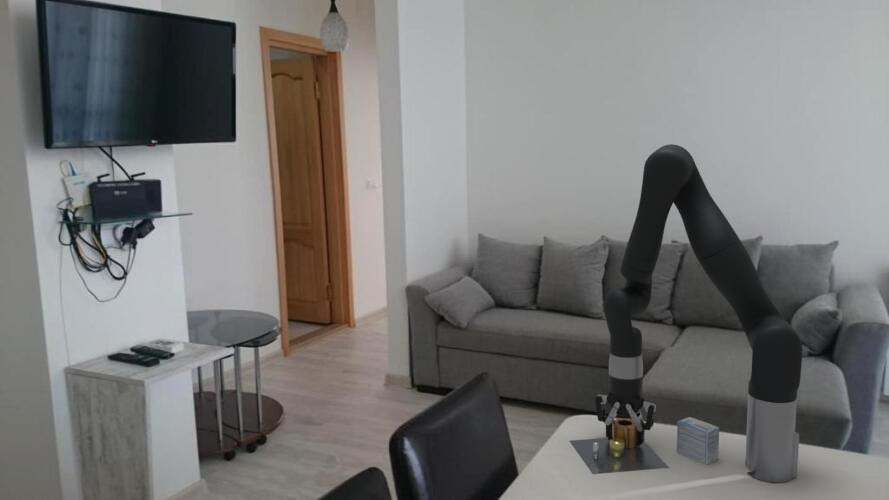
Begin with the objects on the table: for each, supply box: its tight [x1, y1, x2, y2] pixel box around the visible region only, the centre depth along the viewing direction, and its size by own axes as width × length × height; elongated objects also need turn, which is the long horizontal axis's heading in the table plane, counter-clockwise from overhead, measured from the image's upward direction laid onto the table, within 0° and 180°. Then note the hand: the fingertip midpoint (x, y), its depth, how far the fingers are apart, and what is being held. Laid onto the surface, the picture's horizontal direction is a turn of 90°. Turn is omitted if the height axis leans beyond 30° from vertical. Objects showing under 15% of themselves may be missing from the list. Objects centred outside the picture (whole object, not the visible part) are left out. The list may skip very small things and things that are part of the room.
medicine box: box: [676, 416, 720, 465], centre depth 155 cm, size 8×4×9 cm, turn 34°
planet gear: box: [612, 417, 637, 449], centre depth 162 cm, size 6×6×5 cm
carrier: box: [569, 437, 670, 475], centre depth 157 cm, size 17×17×5 cm
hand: (624, 441), depth 162 cm, fingers closed on planet gear, 6 cm apart
